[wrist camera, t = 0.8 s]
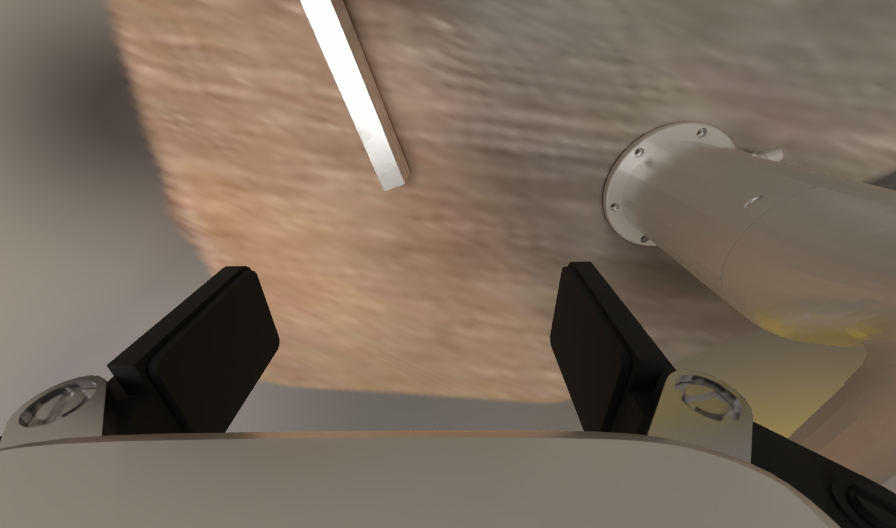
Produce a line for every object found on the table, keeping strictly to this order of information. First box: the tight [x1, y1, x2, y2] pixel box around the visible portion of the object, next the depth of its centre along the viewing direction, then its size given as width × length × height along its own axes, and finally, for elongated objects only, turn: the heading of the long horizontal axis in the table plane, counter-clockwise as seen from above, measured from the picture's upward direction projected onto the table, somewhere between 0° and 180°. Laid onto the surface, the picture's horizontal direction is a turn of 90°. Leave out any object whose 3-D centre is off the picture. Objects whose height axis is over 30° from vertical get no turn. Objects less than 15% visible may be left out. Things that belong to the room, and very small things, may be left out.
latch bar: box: [300, 0, 410, 191], centre depth 24 cm, size 3×28×5 cm, turn 19°
